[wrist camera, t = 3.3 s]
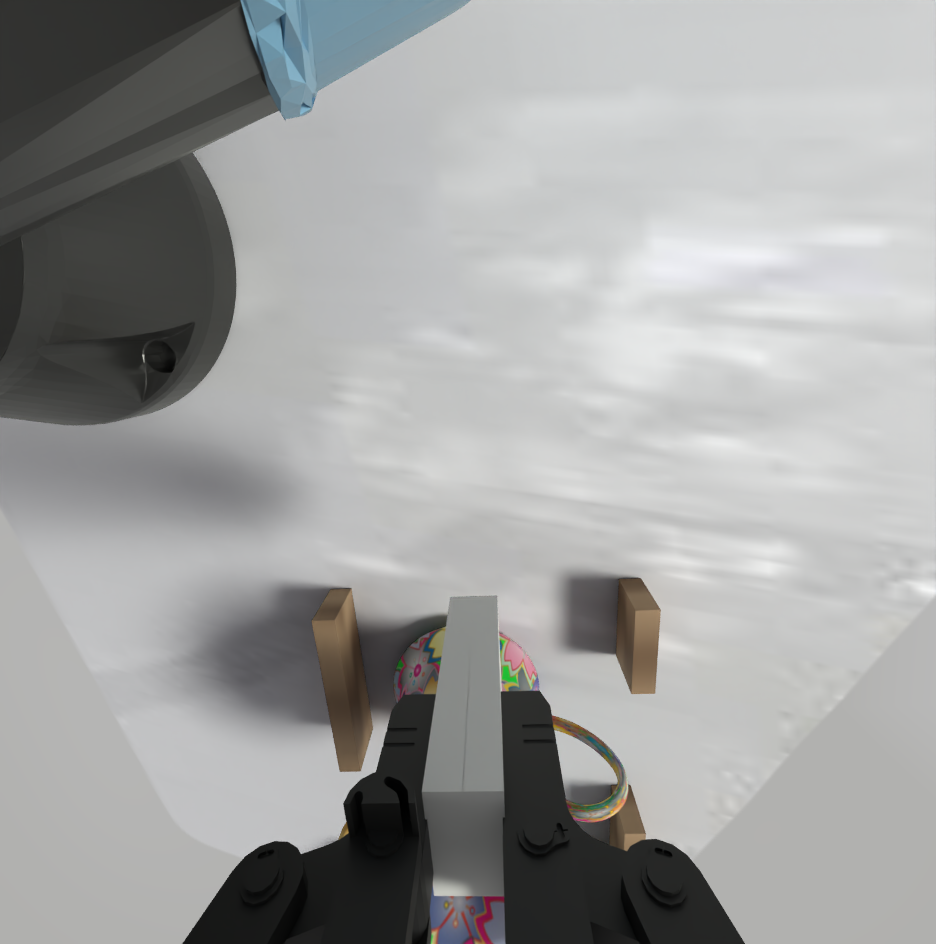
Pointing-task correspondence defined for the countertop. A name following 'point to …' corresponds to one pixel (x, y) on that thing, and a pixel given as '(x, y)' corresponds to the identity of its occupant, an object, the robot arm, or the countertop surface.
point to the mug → (482, 917)
